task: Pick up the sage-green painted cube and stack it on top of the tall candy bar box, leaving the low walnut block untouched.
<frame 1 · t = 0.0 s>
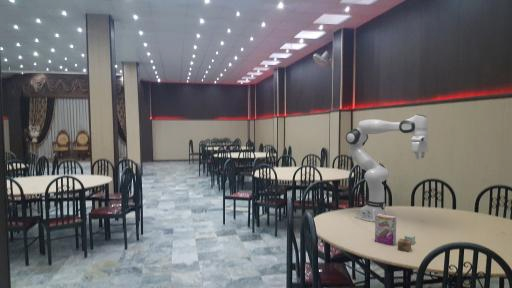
hand: (420, 158, 236), 48 cm above the table, fingers open, 8 cm apart
sage cube: (409, 243, 208), on the table
candy bar box: (385, 242, 210), on the table
walnut block: (404, 249, 198), on the table
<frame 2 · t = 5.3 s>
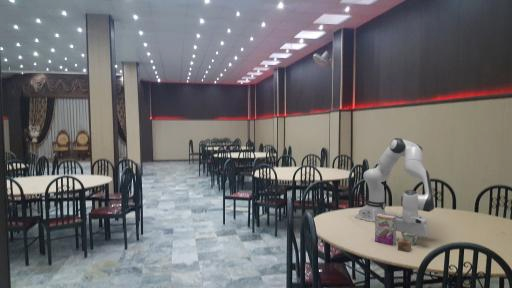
hand: (409, 240, 208), 2 cm above the table, fingers closed on sage cube, 4 cm apart
sage cube: (409, 243, 208), on the table, touching gripper
everything else where it was.
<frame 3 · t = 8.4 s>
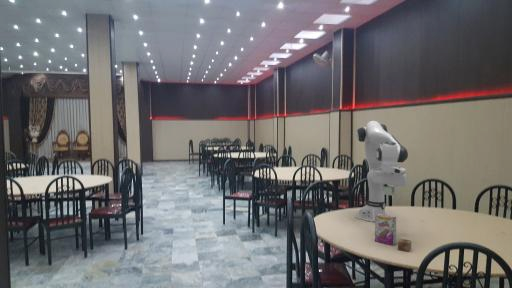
hand: (389, 191, 208), 31 cm above the table, fingers closed on sage cube, 4 cm apart
sage cube: (389, 194, 208), point 30 cm above the table, touching gripper
everything else where it was.
when the fingers open (19 cm above the table, at t = 11.7 s): sage cube drops 1 cm, resting on candy bar box.
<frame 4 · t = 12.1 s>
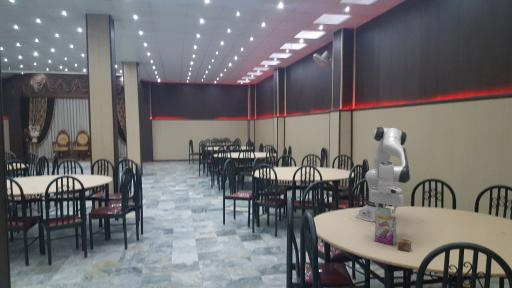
hand: (385, 211, 209), 19 cm above the table, fingers open, 8 cm apart
sage cube: (385, 215, 209), point 16 cm above the table, touching candy bar box
candy bar box: (385, 242, 210), on the table, touching sage cube
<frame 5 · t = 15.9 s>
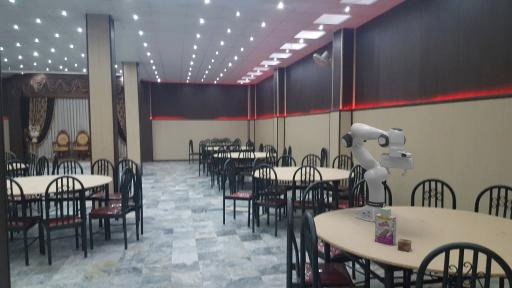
hand: (396, 175, 220), 39 cm above the table, fingers open, 8 cm apart
nothing on the table moved.
at the end: sage cube 0.1 cm from the candy bar box (horizontally); sage cube point 16.3 cm above the table; sage cube touching candy bar box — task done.
